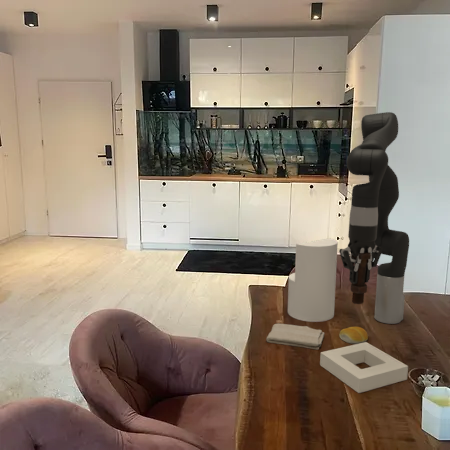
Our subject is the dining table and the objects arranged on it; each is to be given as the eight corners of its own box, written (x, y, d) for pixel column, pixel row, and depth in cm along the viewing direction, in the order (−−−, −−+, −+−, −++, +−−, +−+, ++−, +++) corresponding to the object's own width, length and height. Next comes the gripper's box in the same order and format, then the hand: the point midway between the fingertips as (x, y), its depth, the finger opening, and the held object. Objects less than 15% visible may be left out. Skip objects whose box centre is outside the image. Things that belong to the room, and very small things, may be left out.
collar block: (365, 354, 148) (366, 341, 148) (407, 379, 133) (408, 366, 132) (320, 365, 141) (320, 352, 140) (358, 393, 126) (359, 379, 125)
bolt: (367, 307, 133) (371, 254, 130) (348, 305, 134) (352, 253, 131) (366, 300, 139) (369, 250, 136) (348, 298, 140) (351, 248, 137)
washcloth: (320, 351, 151) (321, 342, 150) (265, 344, 156) (265, 335, 156) (325, 336, 162) (325, 328, 161) (272, 329, 167) (273, 321, 167)
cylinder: (343, 315, 180) (347, 242, 174) (310, 325, 170) (313, 248, 165) (311, 301, 194) (313, 234, 188) (278, 310, 184) (280, 239, 179)
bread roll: (372, 340, 159) (373, 328, 158) (353, 346, 154) (354, 335, 153) (353, 331, 166) (353, 320, 165) (334, 337, 161) (335, 326, 160)
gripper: (374, 218, 138) (370, 276, 141) (333, 221, 133) (330, 281, 136) (392, 223, 132) (388, 283, 135) (351, 226, 126) (347, 289, 129)
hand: (359, 282), depth 135 cm, fingers closed on bolt, 3 cm apart
